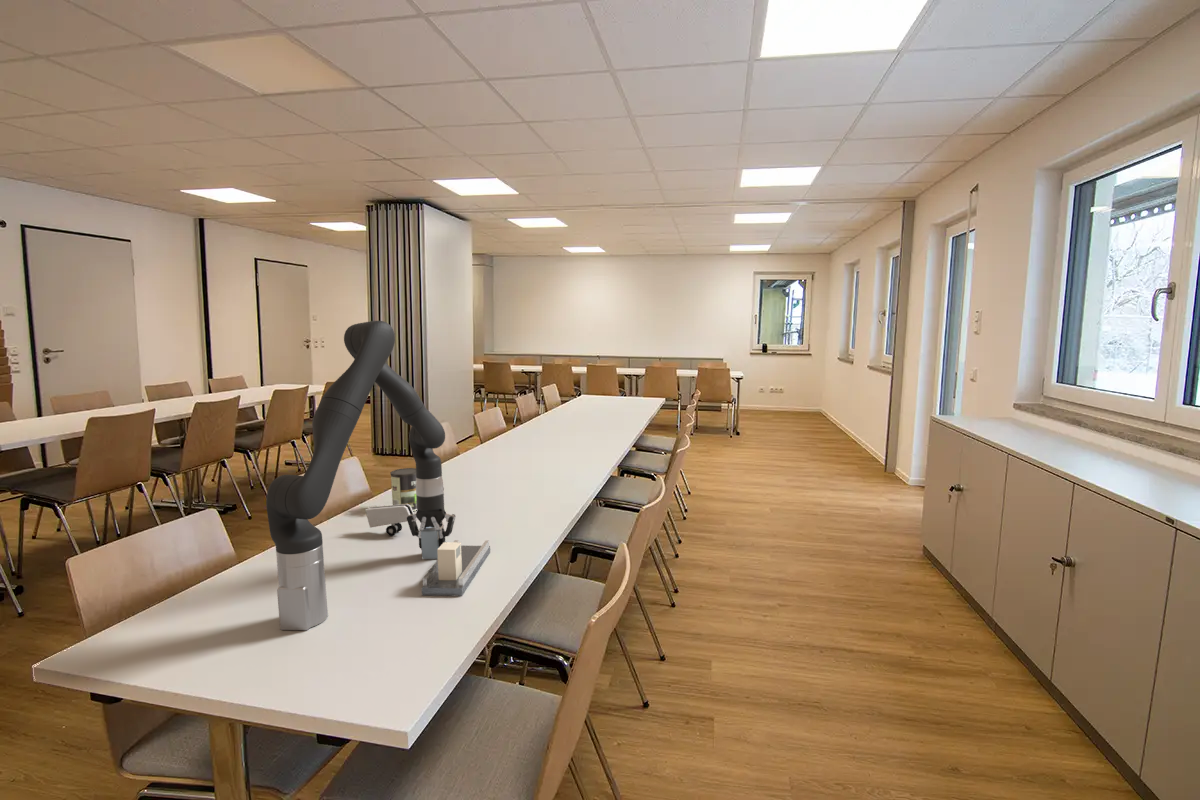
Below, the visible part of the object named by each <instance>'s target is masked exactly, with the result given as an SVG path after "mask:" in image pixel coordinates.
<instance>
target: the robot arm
mask: <svg viewBox="0 0 1200 800" xmlns="http://www.w3.org/2000/svg"><path fill="white" fill-rule="evenodd" d="M395 335H396V333H395V331H394V329H393V327H392V325H390V324H389V323H388V322H386V321H385V320H384V321H383V320H369V321H364V322H360V323H359V322H358V323H354V324H351V325H350V326H348V327H347V328H346V330H345V331H344V334H343V343H344V346H345V348H346V350H347V351H348V353H349V354H350V355H351V357H352V358H353V359H354V360H353V361H352V363H351V364H350V366H349V367H348V368H347V369H346V370H345V371H344V372H342V374H341V375H340V376H339V377H338V378H337V379H336V380H335V381H334V382H333V383H332V384H331V385H330V386H328V388H327V390H326V391H325V393H324V394H323V396H322V397H321V399H320V400H319V401H320V402H319V404H318V406H317V408H316V410H315V412H314V414H313V417H312V423H311V425H312V426H311V428H312V438H313V447H314V449H313V454H312V457H311V460H310V461H309V462H310V463H309V465H308V466H307V468H306V471H305V472H304V474H303V475H297V474H296V475H295V474H283V475H280V476H278V477H276V478H275V479H273V480H272V482H271V483H270V484H269V487H268V489H267V491H266V497H265V498H266V501H265V503H266V506H265V507H266V512H267V520H268V528H269V533H270V534H269V535H270V538H271V540H272V541H273V543H274V546H275V553H276V566H277V567H276V569H277V579H278V580H277V582H278V587H277V590H276V594H277V603H278V604H277V606H278V607H277V608H278V617H279V618H278V619H279V629H280V631H281V630H283V631H308V630H309V629H311V628H312V627H315V626H317V625H320V624H321V623H323V622H325V620H327V618H328V616H329V613H328V611H329V610H328V599H327V586H326V585H327V584H326V573H325V571H326V570H325V561H324V559H325V558H324V546H323V534H322V531H321V530H320V529H319V528H317V527H316V526H315V525H314V524H312V522H310V520H312V519H314V518H315V517H317V516H318V515H320V514H321V512H322V511H323V510H324V508H325V506H326V504H327V502H328V499H329V497H330V494H331V491H332V488H333V484H334V483H335V482H334V481H335V479H336V475H337V472H338V469H339V467H340V463H341V461H342V457H343V455H344V454H345V451H346V448H347V445H348V443H349V440H350V438H351V436H352V435H353V432H354V430H355V428H356V425H357V423H358V421H359V419H360V416H361V414H362V411H363V409H364V407H365V403H366V402H367V399H368V397H369V395H370V393H371V391H372V389H373V386H374V384H376V385H377V386H378V387H379V388H380V390H381V391H382V392H383V393H384V395H385V396H386V397H387V399H388V400H389V402H390V403H391V405H392V406H393V408H394V410H395V411H396V413H397V415H398V416H399V418H400V419H401V420H402V421H403V422H404V423H405V424H408V425H409V426H411V428H410V429H409V433H408V442H409V446H410V450H411V453H412V456H413V459H414V462H415V468H416V500H417V511H415V512H416V513H414V514H410V515H409V516H408V517H407V524H408V527H409V530H410V533H411V536H412V537H417V538H418V547H419V549H421V551H422V546H421V531H424V530H425V529H426V528H427V527H435V530H436V531H438V535H439V539H438V540H439V547H440V546H441V545H442V544H443V543H444V542H446V537H450V535H451V534H453V533H452V532H453V529H454V524H455V520H456V514H455V513H454V514H453V513H452V514H450V513H447V511H446V510H445V497H444V496H445V493H444V492H445V491H444V490H445V487H444V480H443V472H442V471H443V469H442V468H443V467H442V460H441V457H440V456H439V455H437V454H436V453H435V452H434V449H438V448H440V447H442V445H444V442H445V441H446V432H445V429H444V427H443V425H442V423H441V422H440V421H439V420H438V418H436V417H435V416H434V415H433V414H432V412H430V411H429V409H427V407H426V406H425V404H424V403H423V400H422V398H420V396H419V394H418V393H417V391H416V390H415V388H414V387H413V386H412V384H411V383H409V382H408V381H407V380H406V379H404V378H403V377H402V376H401V375H400V374H399V373H397V372H396V371H395V370H394V369H393V368H392V367H391V366H390V365H389V364H388V363H387V360H388V359H389V358H390V356H391V354H392V352H393V349H394V347H395V343H396V338H395V337H396V336H395ZM417 520H418V521H419V522H420V526H419V527H418V524H417ZM444 520H446V521H445V522H446V523H447V524H446V527H445V525H444V523H443V521H444ZM445 528H446V529H445Z"/></svg>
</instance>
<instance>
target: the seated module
mask: <svg viewBox="0 0 1200 800" xmlns="http://www.w3.org/2000/svg"><path fill="white" fill-rule="evenodd" d="M461 546H462V541H461V542H459V541H458V542H454V541H452V542H451V541H450V542H449V541H447V542H446V541H445V542H444V543H443V544H442V545H441V546H440V547H439V548H438V549H437V554H438V559H437V561H438V575H439V580H457V579H458V577H459V576H460V574H461V573H462V558H461Z"/></svg>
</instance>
